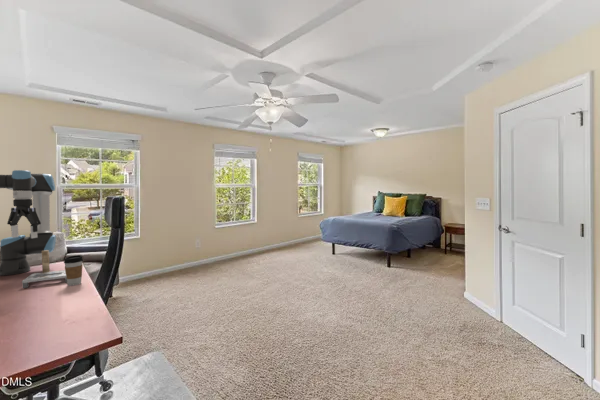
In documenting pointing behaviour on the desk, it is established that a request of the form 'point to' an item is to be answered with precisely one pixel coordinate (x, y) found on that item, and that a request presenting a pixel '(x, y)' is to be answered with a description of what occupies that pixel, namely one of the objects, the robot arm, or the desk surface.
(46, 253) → the beech peg
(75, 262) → the coffee cup
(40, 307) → the desk surface
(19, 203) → the robot arm
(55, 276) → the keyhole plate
